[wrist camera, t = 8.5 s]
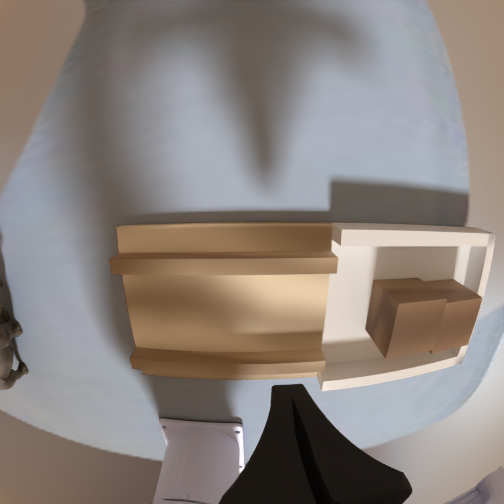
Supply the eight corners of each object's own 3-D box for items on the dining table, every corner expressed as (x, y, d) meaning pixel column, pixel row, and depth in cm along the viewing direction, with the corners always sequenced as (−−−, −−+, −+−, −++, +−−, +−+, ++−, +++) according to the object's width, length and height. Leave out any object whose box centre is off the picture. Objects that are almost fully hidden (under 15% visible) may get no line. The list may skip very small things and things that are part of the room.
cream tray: (448, 350, 21) (461, 363, 19) (315, 371, 21) (321, 391, 19) (477, 227, 18) (495, 234, 16) (330, 222, 18) (341, 229, 16)
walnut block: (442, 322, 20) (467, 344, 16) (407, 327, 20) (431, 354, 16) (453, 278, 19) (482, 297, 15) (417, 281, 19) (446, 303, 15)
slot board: (315, 371, 21) (320, 388, 19) (145, 369, 21) (137, 385, 19) (330, 222, 18) (340, 228, 16) (119, 225, 18) (106, 231, 16)
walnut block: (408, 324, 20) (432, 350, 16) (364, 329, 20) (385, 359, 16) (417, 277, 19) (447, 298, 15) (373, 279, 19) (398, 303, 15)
